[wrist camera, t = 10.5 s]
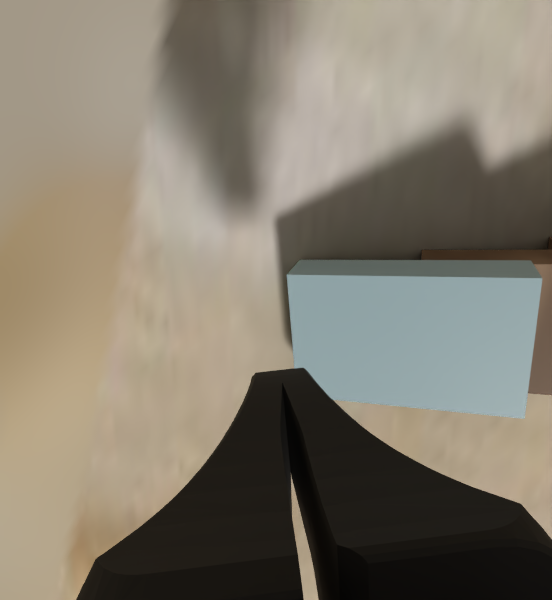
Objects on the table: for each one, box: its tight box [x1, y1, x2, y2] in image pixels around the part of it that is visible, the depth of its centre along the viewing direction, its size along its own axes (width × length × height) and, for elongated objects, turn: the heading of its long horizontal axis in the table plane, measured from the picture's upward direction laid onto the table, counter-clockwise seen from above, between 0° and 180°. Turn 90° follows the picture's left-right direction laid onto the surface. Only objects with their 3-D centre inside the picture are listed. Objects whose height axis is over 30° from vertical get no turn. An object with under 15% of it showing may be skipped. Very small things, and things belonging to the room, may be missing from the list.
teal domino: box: [287, 260, 542, 419], centre depth 15 cm, size 2×4×7 cm
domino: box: [422, 249, 552, 395], centre depth 15 cm, size 2×4×7 cm
